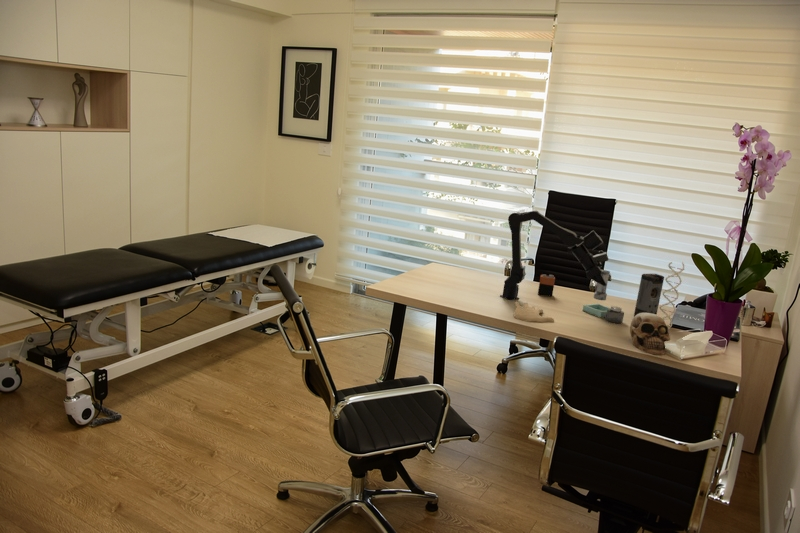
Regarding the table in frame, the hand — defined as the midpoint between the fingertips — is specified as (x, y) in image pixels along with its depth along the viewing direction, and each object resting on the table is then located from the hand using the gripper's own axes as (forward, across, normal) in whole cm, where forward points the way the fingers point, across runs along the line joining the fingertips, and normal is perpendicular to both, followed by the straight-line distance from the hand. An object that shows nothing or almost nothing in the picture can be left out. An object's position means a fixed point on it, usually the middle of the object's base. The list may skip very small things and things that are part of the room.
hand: (605, 284), depth 268 cm
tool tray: (+9, +2, +10) cm, 14 cm away
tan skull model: (+23, -34, -3) cm, 41 cm away
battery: (-9, +18, +28) cm, 34 cm away
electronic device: (+23, +7, -3) cm, 24 cm away
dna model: (+28, -11, -8) cm, 31 cm away
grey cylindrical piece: (+4, 0, +6) cm, 7 cm away
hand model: (-9, -22, +29) cm, 38 cm away
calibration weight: (+14, -7, +6) cm, 16 cm away
